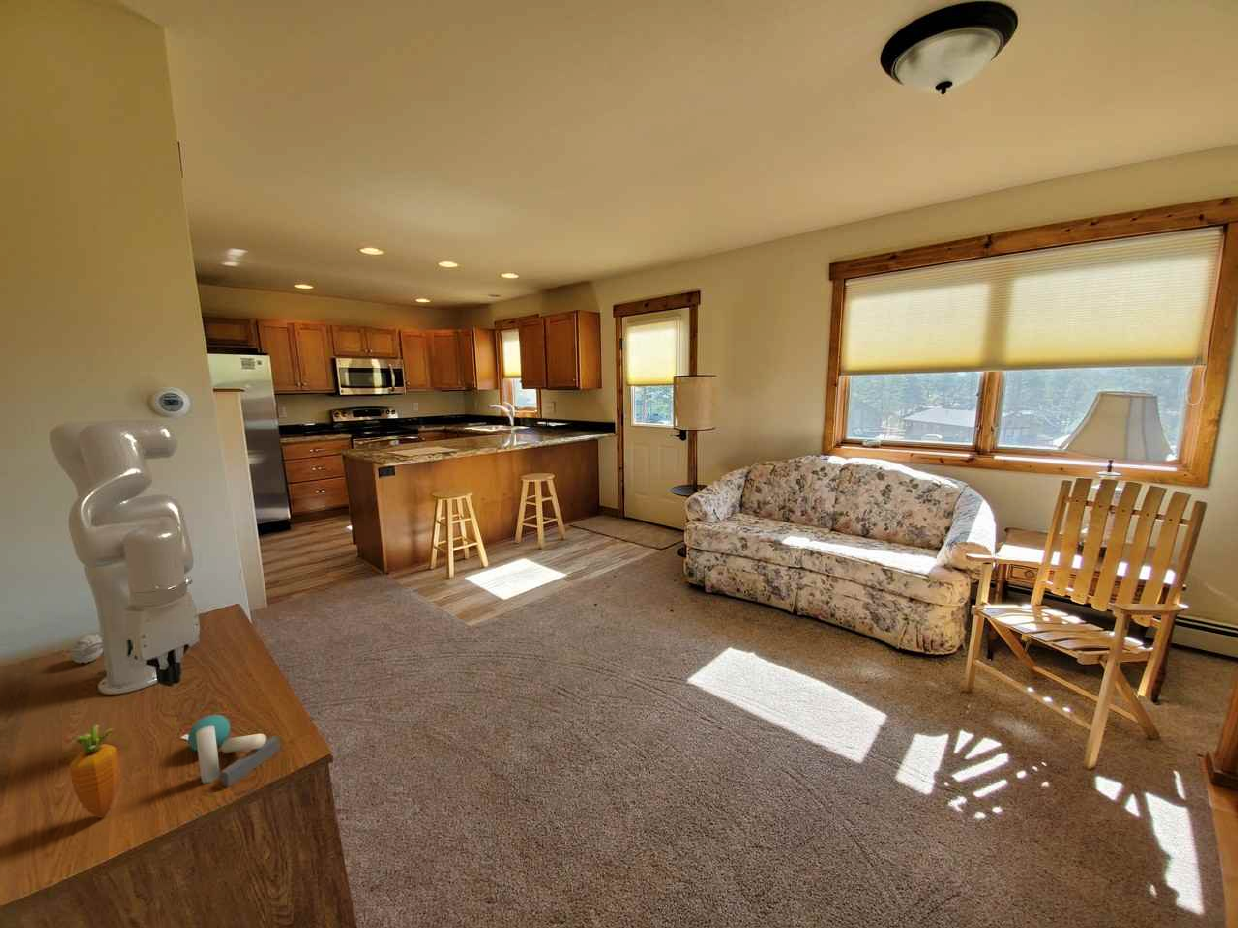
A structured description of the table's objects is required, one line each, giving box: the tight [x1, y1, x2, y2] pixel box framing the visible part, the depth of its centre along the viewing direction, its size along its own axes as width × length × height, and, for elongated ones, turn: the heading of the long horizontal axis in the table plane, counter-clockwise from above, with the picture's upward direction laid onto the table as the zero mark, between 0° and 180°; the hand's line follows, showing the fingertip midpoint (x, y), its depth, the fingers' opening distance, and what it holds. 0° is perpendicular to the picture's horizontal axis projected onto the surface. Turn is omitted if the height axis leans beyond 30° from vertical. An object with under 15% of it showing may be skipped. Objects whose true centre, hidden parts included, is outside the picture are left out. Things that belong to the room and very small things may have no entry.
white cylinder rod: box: [196, 726, 221, 784], centre depth 82 cm, size 2×2×9 cm
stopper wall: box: [220, 735, 281, 788], centre depth 85 cm, size 2×9×2 cm, turn 163°
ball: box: [187, 714, 231, 752], centre depth 89 cm, size 6×6×6 cm
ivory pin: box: [220, 733, 267, 754], centre depth 87 cm, size 2×2×9 cm
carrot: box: [69, 724, 120, 819], centre depth 74 cm, size 5×5×15 cm
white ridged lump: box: [68, 634, 104, 664], centre depth 117 cm, size 6×7×7 cm
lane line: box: [179, 733, 189, 742], centre depth 91 cm, size 9×1×1 cm, turn 73°
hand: (169, 682), depth 92 cm, fingers closed
